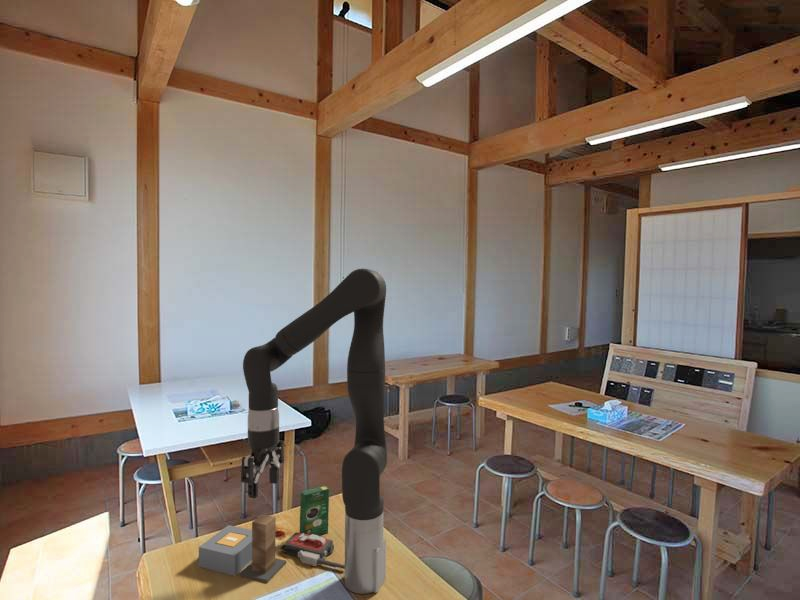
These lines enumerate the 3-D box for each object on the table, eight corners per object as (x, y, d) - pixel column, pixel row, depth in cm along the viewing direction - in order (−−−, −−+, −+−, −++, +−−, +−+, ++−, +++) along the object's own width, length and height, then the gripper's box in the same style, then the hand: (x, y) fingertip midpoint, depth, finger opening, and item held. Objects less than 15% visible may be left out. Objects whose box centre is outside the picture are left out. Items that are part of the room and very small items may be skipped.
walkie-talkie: (275, 557, 115) (343, 575, 108) (275, 541, 115) (343, 558, 108) (294, 540, 123) (358, 555, 116) (294, 524, 123) (359, 539, 116)
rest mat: (286, 563, 112) (286, 560, 112) (267, 582, 104) (267, 580, 104) (259, 556, 114) (259, 554, 114) (239, 575, 107) (239, 573, 107)
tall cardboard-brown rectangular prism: (275, 563, 111) (275, 516, 110) (265, 573, 107) (265, 524, 107) (261, 560, 112) (262, 514, 112) (251, 569, 108) (252, 521, 108)
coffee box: (324, 528, 129) (325, 484, 128) (329, 532, 126) (329, 487, 126) (299, 536, 124) (299, 491, 124) (303, 541, 122) (303, 495, 121)
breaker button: (246, 550, 115) (246, 535, 115) (233, 562, 110) (233, 546, 110) (230, 546, 117) (230, 531, 117) (216, 558, 112) (216, 542, 112)
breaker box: (262, 550, 117) (262, 532, 117) (234, 575, 107) (235, 555, 107) (228, 542, 121) (228, 524, 120) (198, 566, 110) (198, 546, 110)
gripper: (258, 435, 101) (259, 505, 101) (292, 418, 114) (292, 480, 115) (231, 432, 103) (232, 500, 103) (267, 416, 117) (268, 476, 117)
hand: (264, 489), depth 109 cm, fingers open, 8 cm apart
